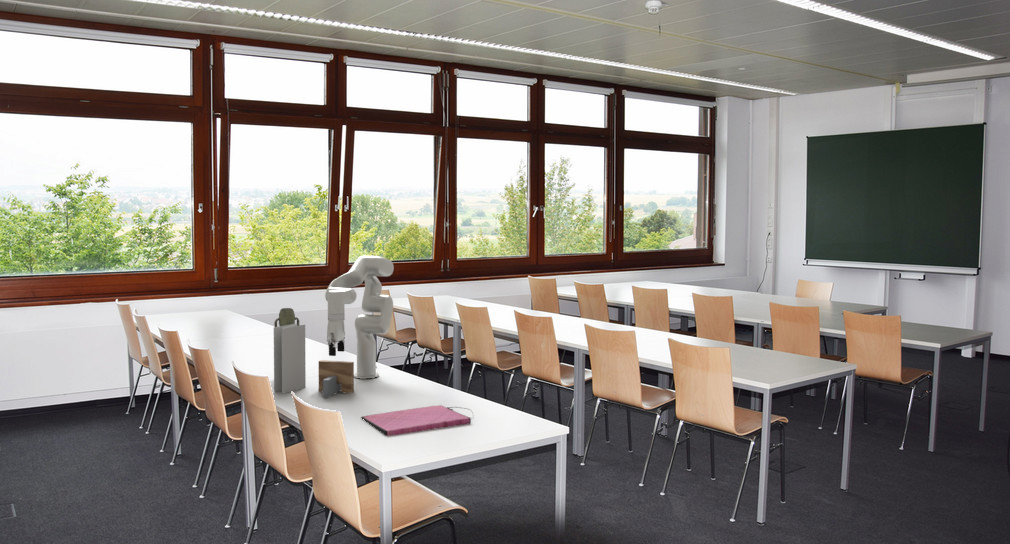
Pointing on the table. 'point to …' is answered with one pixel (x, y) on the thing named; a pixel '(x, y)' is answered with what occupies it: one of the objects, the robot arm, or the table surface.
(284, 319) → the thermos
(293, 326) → the tall grey pillar
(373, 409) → the table surface
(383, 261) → the robot arm
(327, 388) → the stepped grey block
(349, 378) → the walnut plate
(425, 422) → the laptop bag
